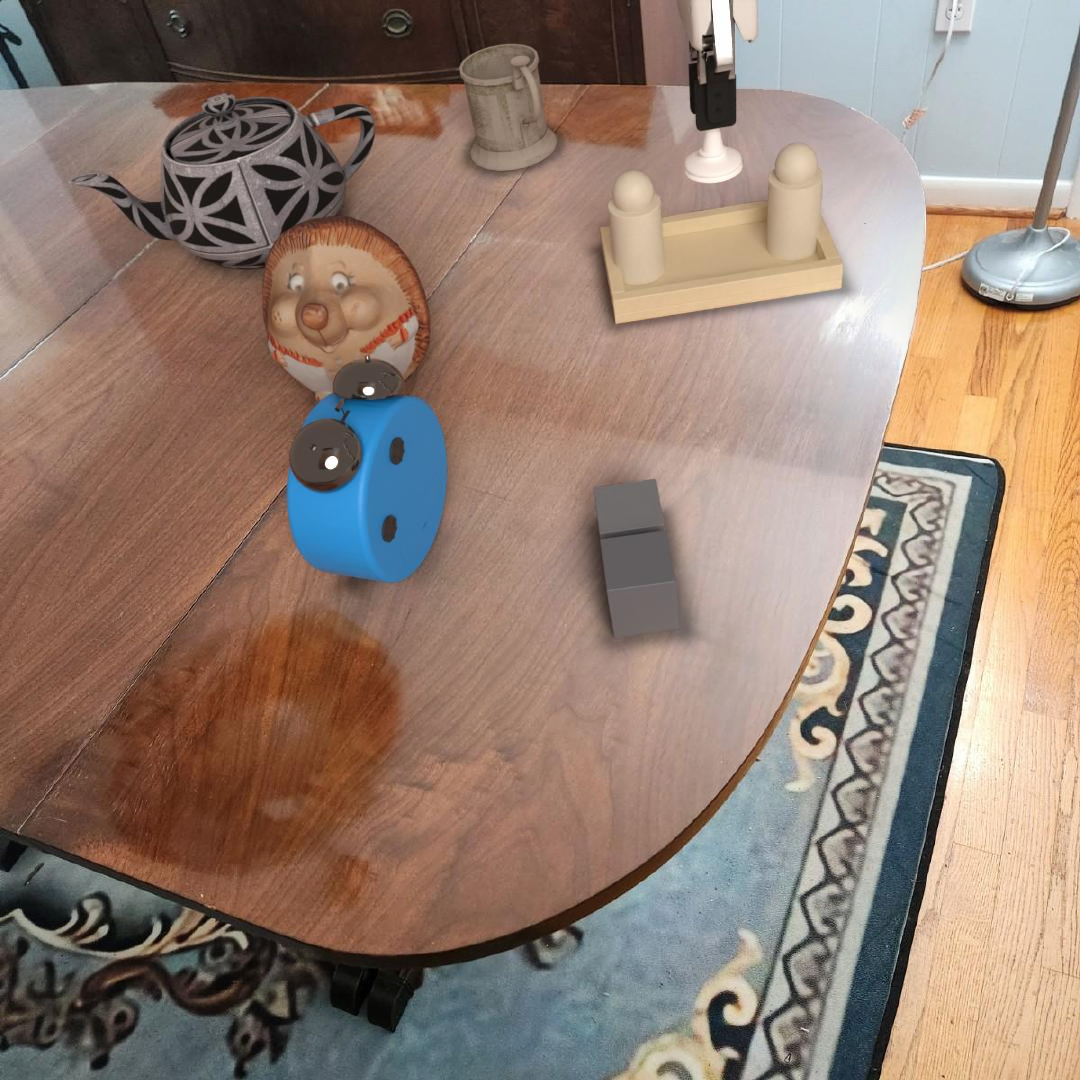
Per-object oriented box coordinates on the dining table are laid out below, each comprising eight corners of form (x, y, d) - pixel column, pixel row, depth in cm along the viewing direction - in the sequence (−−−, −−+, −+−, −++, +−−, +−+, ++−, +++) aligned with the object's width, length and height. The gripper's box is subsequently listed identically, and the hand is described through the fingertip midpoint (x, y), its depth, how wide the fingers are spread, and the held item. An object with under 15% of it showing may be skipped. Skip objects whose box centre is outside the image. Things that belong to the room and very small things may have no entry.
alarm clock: (395, 480, 81) (339, 330, 70) (465, 490, 79) (419, 336, 68) (324, 609, 73) (249, 462, 62) (401, 622, 71) (337, 474, 60)
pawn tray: (809, 216, 96) (816, 106, 88) (841, 288, 88) (851, 175, 80) (602, 249, 98) (590, 145, 90) (615, 324, 90) (603, 216, 82)
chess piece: (677, 182, 85) (671, 63, 78) (692, 152, 88) (687, 34, 80) (735, 185, 83) (734, 63, 76) (748, 154, 86) (748, 34, 79)
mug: (458, 145, 116) (434, 39, 107) (534, 117, 118) (517, 10, 109) (508, 198, 107) (486, 86, 98) (590, 166, 108) (576, 54, 100)
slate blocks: (659, 520, 74) (655, 470, 70) (679, 629, 67) (675, 581, 63) (600, 528, 74) (592, 479, 70) (614, 638, 67) (606, 590, 64)
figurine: (272, 448, 86) (202, 302, 74) (297, 334, 96) (239, 191, 85) (438, 427, 84) (391, 275, 73) (444, 313, 95) (405, 165, 84)
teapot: (115, 242, 113) (47, 113, 102) (372, 156, 117) (333, 23, 106) (132, 331, 101) (57, 195, 90) (419, 231, 105) (380, 90, 94)
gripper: (788, -116, 63) (779, 159, 77) (740, -184, 74) (740, 68, 87) (668, -93, 64) (681, 175, 77) (638, -164, 74) (654, 83, 88)
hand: (712, 116), depth 82 cm, fingers closed on chess piece
